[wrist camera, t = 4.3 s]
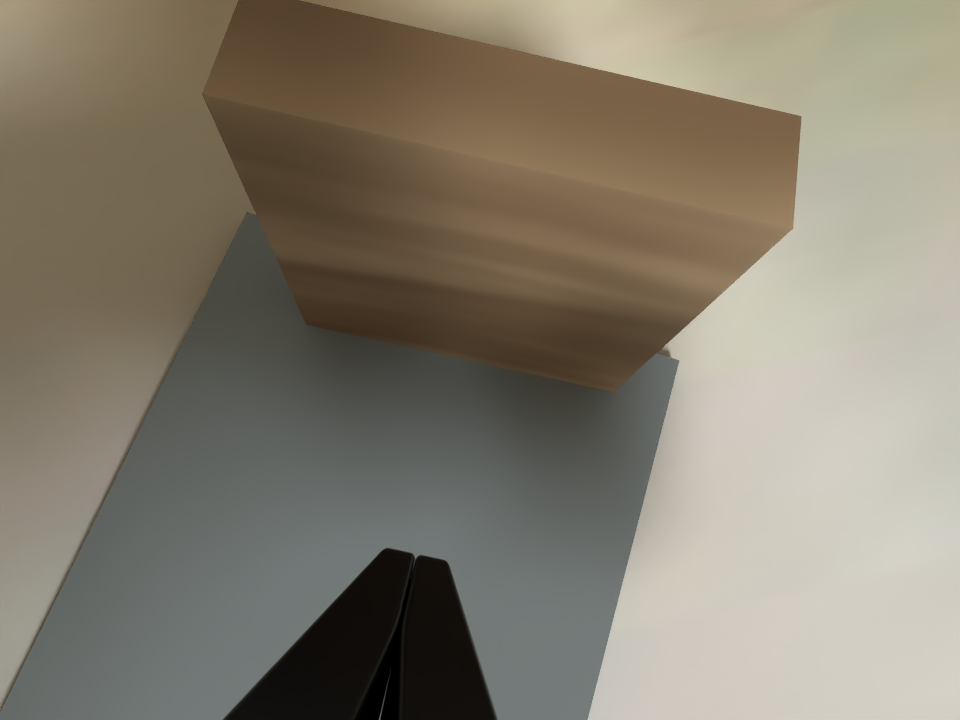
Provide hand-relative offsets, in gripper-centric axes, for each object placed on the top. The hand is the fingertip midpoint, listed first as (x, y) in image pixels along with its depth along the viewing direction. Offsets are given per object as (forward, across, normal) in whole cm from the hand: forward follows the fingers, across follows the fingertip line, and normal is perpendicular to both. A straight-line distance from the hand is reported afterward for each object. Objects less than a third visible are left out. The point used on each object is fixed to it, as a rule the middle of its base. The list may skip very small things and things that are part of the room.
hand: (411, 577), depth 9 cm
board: (+10, 0, +1) cm, 10 cm away
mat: (+6, +1, +5) cm, 8 cm away
